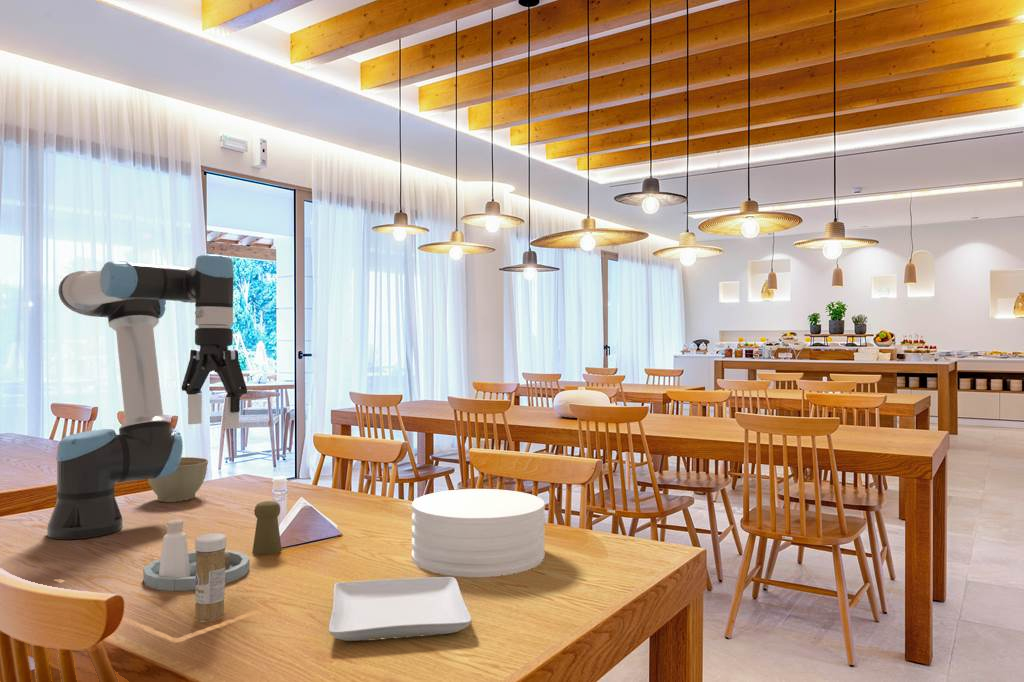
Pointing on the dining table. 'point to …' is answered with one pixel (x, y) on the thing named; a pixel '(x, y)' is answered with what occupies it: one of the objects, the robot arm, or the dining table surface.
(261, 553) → the pepper shaker
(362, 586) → the salad plate
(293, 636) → the dining table surface
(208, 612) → the sprinkles bottle
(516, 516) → the plate stack
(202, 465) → the planter bowl
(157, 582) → the groove tray
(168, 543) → the pepper shaker
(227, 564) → the bead walnut
